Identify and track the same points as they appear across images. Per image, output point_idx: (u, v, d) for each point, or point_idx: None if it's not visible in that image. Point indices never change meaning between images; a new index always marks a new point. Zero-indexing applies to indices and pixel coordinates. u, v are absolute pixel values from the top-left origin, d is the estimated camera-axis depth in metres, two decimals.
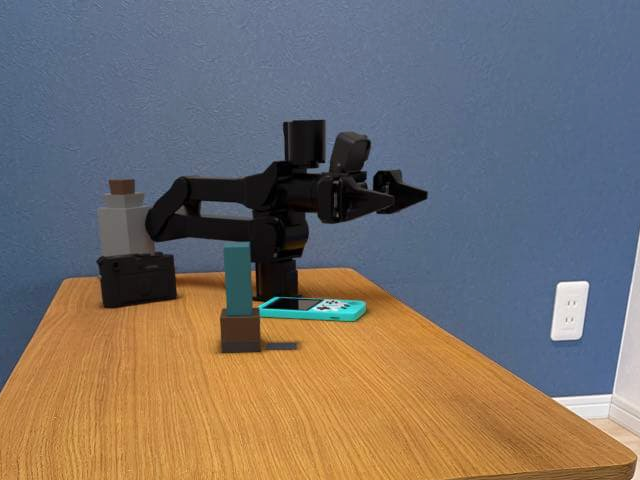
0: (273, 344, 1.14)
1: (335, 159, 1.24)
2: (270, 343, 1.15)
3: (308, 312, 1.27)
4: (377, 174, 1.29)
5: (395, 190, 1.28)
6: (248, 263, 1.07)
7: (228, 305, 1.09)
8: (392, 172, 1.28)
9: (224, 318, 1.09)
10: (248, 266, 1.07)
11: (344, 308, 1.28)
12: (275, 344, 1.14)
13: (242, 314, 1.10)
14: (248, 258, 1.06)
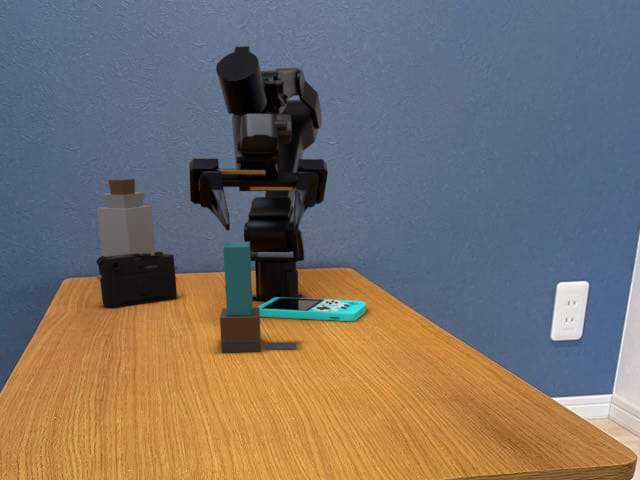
0: (273, 344, 1.14)
1: (240, 134, 1.14)
2: (270, 343, 1.15)
3: (308, 312, 1.27)
4: (298, 161, 1.16)
5: None
6: (248, 263, 1.07)
7: (228, 305, 1.09)
8: (301, 173, 1.15)
9: (224, 318, 1.09)
10: (248, 266, 1.07)
11: (344, 308, 1.28)
12: (275, 344, 1.14)
13: (242, 314, 1.10)
14: (248, 258, 1.06)
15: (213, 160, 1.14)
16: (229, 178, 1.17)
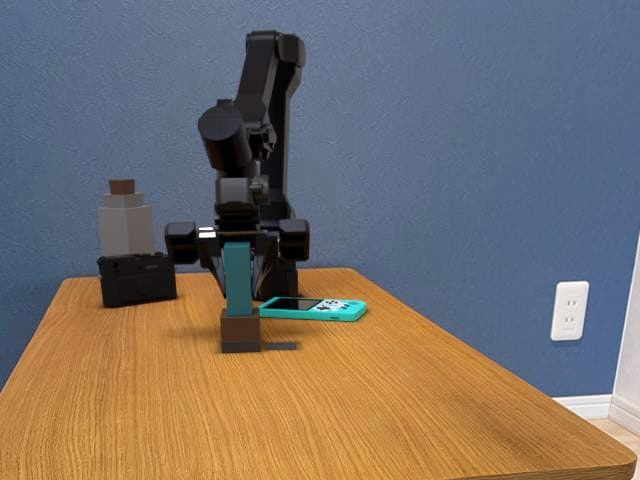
0: (273, 344, 1.14)
1: None
2: (270, 343, 1.15)
3: (308, 312, 1.27)
4: None
5: None
6: (248, 263, 1.07)
7: (228, 305, 1.09)
8: (258, 237, 1.09)
9: (224, 318, 1.09)
10: (248, 266, 1.07)
11: (344, 308, 1.28)
12: (275, 344, 1.14)
13: (242, 314, 1.10)
14: (248, 258, 1.06)
15: (189, 224, 1.09)
16: None
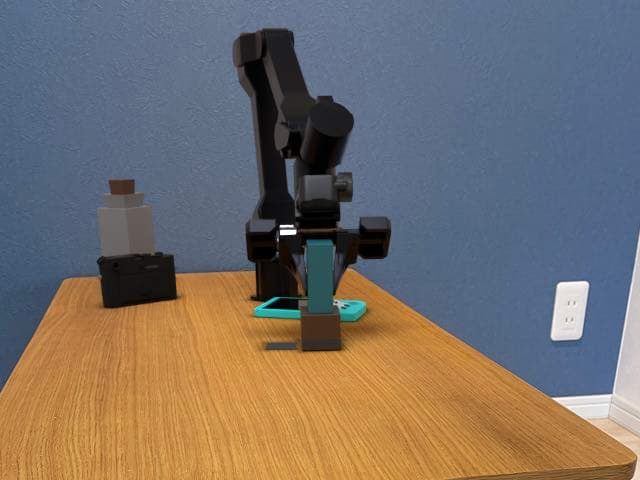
0: (273, 344, 1.14)
1: None
2: (270, 343, 1.15)
3: None
4: (360, 219, 1.10)
5: None
6: (331, 261, 1.06)
7: (310, 303, 1.09)
8: (340, 235, 1.08)
9: (306, 316, 1.09)
10: (331, 264, 1.07)
11: (344, 308, 1.28)
12: (275, 344, 1.14)
13: (323, 312, 1.09)
14: (332, 255, 1.06)
15: (270, 221, 1.09)
16: None
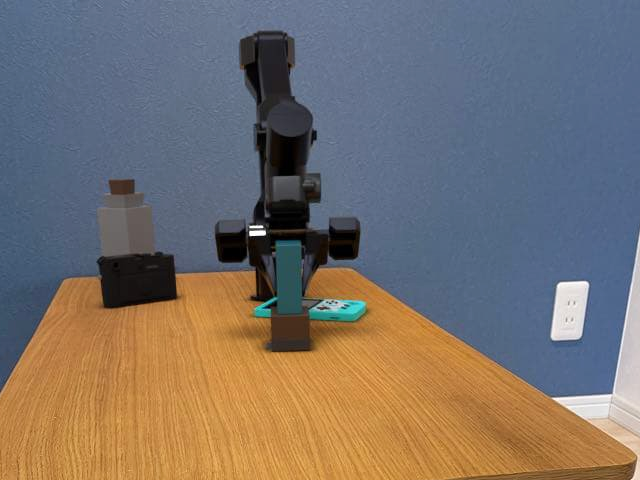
0: None
1: None
2: (270, 343, 1.15)
3: None
4: (329, 220, 1.10)
5: None
6: (300, 261, 1.07)
7: (279, 303, 1.09)
8: (309, 236, 1.09)
9: (275, 316, 1.09)
10: (300, 264, 1.07)
11: (344, 308, 1.28)
12: None
13: (292, 312, 1.09)
14: (300, 256, 1.06)
15: (239, 222, 1.09)
16: None
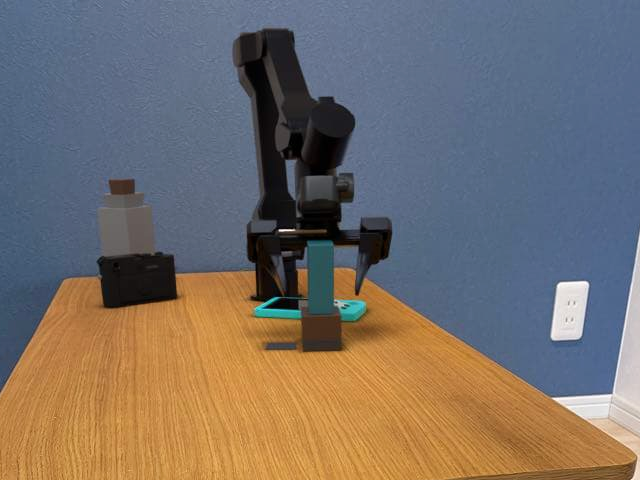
0: (273, 344, 1.14)
1: None
2: (270, 343, 1.15)
3: None
4: (361, 220, 1.10)
5: None
6: (332, 261, 1.06)
7: (310, 303, 1.09)
8: (363, 235, 1.08)
9: (306, 317, 1.09)
10: (332, 264, 1.07)
11: (344, 308, 1.28)
12: (275, 344, 1.14)
13: (324, 313, 1.09)
14: (332, 256, 1.06)
15: (271, 222, 1.09)
16: (288, 237, 1.11)
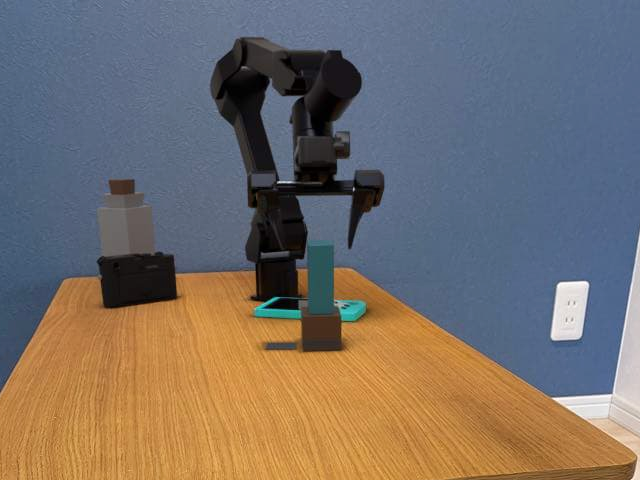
0: (273, 344, 1.14)
1: (298, 149, 1.13)
2: (270, 343, 1.15)
3: None
4: (355, 174, 1.16)
5: (351, 206, 1.18)
6: (332, 261, 1.06)
7: (310, 303, 1.09)
8: (357, 191, 1.15)
9: (306, 316, 1.09)
10: (332, 264, 1.07)
11: (344, 308, 1.28)
12: (275, 344, 1.14)
13: (324, 313, 1.09)
14: (332, 256, 1.06)
15: (271, 176, 1.15)
16: (286, 188, 1.18)
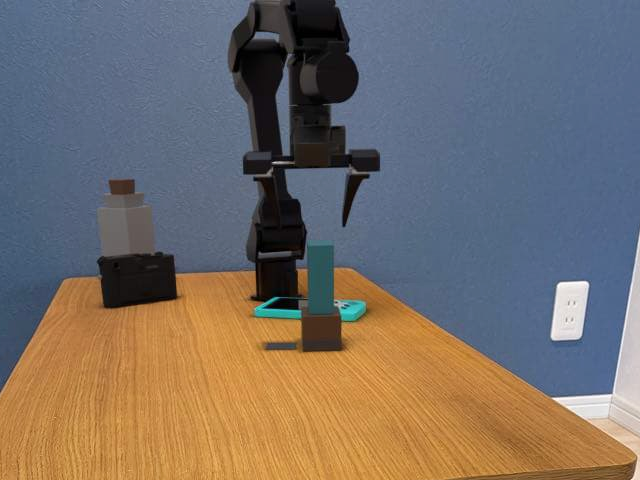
0: (273, 344, 1.14)
1: (293, 140, 1.12)
2: (270, 343, 1.15)
3: None
4: (351, 156, 1.15)
5: (346, 184, 1.19)
6: (332, 261, 1.06)
7: (310, 303, 1.09)
8: (352, 177, 1.16)
9: (306, 316, 1.09)
10: (332, 264, 1.07)
11: (344, 308, 1.28)
12: (275, 344, 1.14)
13: (324, 313, 1.09)
14: (332, 256, 1.06)
15: (266, 162, 1.15)
16: (282, 164, 1.18)
